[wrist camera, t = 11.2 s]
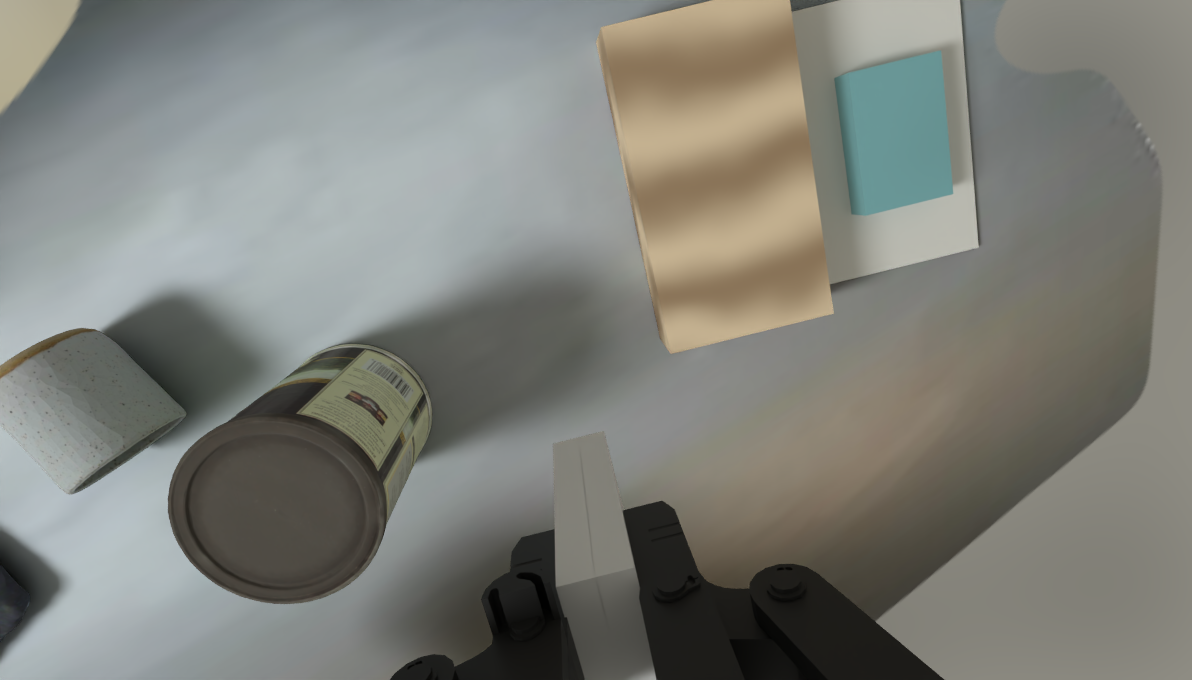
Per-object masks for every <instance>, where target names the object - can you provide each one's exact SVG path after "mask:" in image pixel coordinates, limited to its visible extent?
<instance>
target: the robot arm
mask: <svg viewBox="0 0 1192 680" xmlns="http://www.w3.org/2000/svg"><path fill="white" fill-rule="evenodd" d="M553 464H554V520H555V529H554V530H550V531H546V532H542V533H538V534H534V535H530V536H526V537H522V538H521V539H520V541H519V542H518V544H517V545H516V547H515V548H514V550H513V551H512V556H511V569H510V572H509V573H507V574H504V575H503V576H501V577H500V578H498V579H496V580H495V581H493V582H492V583H491V585H490V586H489V587H488V588H487V589H486V590H485V592H484V594H483V596H482V599H481V600H482V603H483V606H484V609H485V612H486V615H487V619H488V622H489V625H490V628H491V631H492V634H493V642H492V645H491V646H490V647H488V648H487V649H486V650H485V651H484V652H482V653H480V654H479V655H477V656H475V657H474V658H472V659H470V660H468V661H466V662H464V663H462V664H460V665H458V666H456V667H454V664H453V661H452V660H451V659H449V658H448V657H446V656H445V655H435V654H433V655H428V656H424V657H420V658H418V659H416V660H414V661H412V662H410V663H408V664H406V665H405V666H404V667H402V668H401V669H400V670H399V671H397V672H396V673H395V674H394V675H393V676H392V678H391V679H390V680H944V679H943V678H942V677H940V676H939V675H938V674H937V673H936V672H935V671H933V670H932V669H931V668H930V667H928V666H927V665H926V664H925V663H924V662H922V661H921V660H920V659H919V658H918V657H917V656H915V655H914V654H913V653H912V652H911V651H909V650H908V649H907V648H906V647H905V646H903V645H902V644H901V643H900V642H899V641H898V640H896V639H895V638H894V637H893V636H892V635H890V634H889V633H888V632H887V631H886V630H884V629H883V628H882V627H881V626H880V625H878V624H877V623H876V622H875V621H874V620H872V619H871V618H870V617H869V616H868V615H867V614H865V613H864V612H863V611H862V610H861V609H859V608H858V607H857V606H856V605H855V604H853V603H852V602H851V601H850V600H849V599H847V598H846V597H845V596H844V595H843V594H841V593H840V592H839V591H838V590H837V589H835V588H834V587H833V586H832V585H831V584H830V583H828V582H827V581H826V580H825V579H824V578H822V577H821V576H820V575H819V574H818V573H816V572H814V571H813V570H811V569H809V568H807V567H804V566H800V565H795V564H778V565H775V566H771V567H768V568H765V569H764V570H762V571H760V572H759V573H757V574H756V575H755V576H754V578H753V579H752V581H751V582H750V589H730V588H723V587H719V586H715V585H713V584H711V583H709V582H707V581H706V580H705V579H704V578H703V576H702V575H701V574H700V573H699V571H698V569H697V566H696V564H695V561H694V558H693V556H692V553H691V551H690V548H689V546H688V543H687V540H686V538H685V535H684V533H683V530H682V527H681V525H680V523H679V520H678V517H677V515H676V512H675V509H673V508H672V507H670V506H669V505H668V504H666V503H665V502H663V501H659V502H655V503H651V504H647V505H643V506H639V507H635V508H631V509H627V510H624V509H623V505H622V501H621V497H620V493H619V489H618V485H617V481H616V477H615V473H614V469H613V465H612V461H611V457H610V453H609V449H608V445H607V441H606V437H605V433H604V431H602V432H598V433H594V434H590V435H586V436H582V437H578V438H574V439H570V440H566V441H562V442H558V443H554V444H553Z"/></svg>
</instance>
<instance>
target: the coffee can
mask: <svg viewBox="0 0 1192 680" xmlns="http://www.w3.org/2000/svg"><path fill="white" fill-rule="evenodd" d="M431 425H432V407H431V401H430V398H429V394H428V392H427V390H426V387H425V385H424V383H423V382H422V380H421V379H420V376H418V374H417V373H416V372H415V371H414V370H413V369H412V368H411V367H410V366H409V365H408V364H407V363H405V362H404V361H403V360H402V359H400V358H399V357H397V356H396V355H394V354H392V353H390V352H388V351H386V350H383V349H380V348H377V347H374V346H371V345H362V344H344V345H338V346H334V347H331V348H327V349H325V350H323V351H320V352H318V353H316V354H314V355H313V356H311V357H310V358H309V359H307V360H306V361H305V362H304V363H303V364H302V365H301V366H300V367H299V368H298V369H297V370H295V371H294V372H292V373H291V374H290V375H289V376H287V377H286V378H285V379H283V380H282V381H281V382H280V383H278V384H277V385H276V386H274V387H273V388H272V389H271V390H269V391H268V392H267V393H265V394H264V395H263V396H261V397H260V398H258V399H257V400H256V401H254V402H253V403H252V404H250V405H249V406H248V407H246V408H245V409H244V410H242V411H241V412H239V413H238V414H237V415H236V416H235V417H233V418H232V419H231V420H229V421H228V422H226V423H224V424H222V425H220V426H218V427H216V428H215V429H213V430H212V431H210V432H209V433H207V434H206V435H204V436H203V437H201V438H200V439H199V440H198V441H197V442H196V443H194V444H193V445H192V446H191V447H190V448H189V449H188V451H187V452H186V453H185V454H184V455H183V457H182V458H181V460H180V462H179V463H178V465H177V467H176V469H175V471H174V474H173V477H172V480H171V483H170V488H169V495H168V513H169V519H170V523H171V527H172V530H173V534H174V536H175V538H176V540H177V542H178V544H179V546H180V547H181V549H182V551H183V552H184V554H185V555H186V557H187V558H188V559H189V561H190V562H191V563H192V564H193V565H194V566H195V567H196V568H197V569H198V570H199V571H200V572H201V573H202V574H204V575H205V576H206V577H207V578H208V579H210V580H211V581H212V582H214V583H215V584H217V585H218V586H220V587H222V588H224V589H226V590H227V591H230V592H232V593H234V594H236V595H239V596H241V597H245V598H249V599H252V600H255V601H260V602H266V603H274V604H294V603H303V602H309V601H313V600H317V599H320V598H323V597H326V596H328V595H330V594H333V593H335V592H337V591H339V590H341V589H343V588H344V587H346V586H347V585H349V584H350V583H351V582H352V581H354V580H355V579H356V578H357V577H358V576H359V575H360V574H361V573H362V572H363V571H364V570H365V569H366V568H367V567H368V565H369V564H370V563H371V561H372V559H373V558H374V556H375V554H376V552H377V550H378V548H379V546H380V544H381V541H382V538H383V535H384V532H385V528H386V524H387V522H388V520H389V518H390V516H391V513H392V511H393V509H394V507H395V505H396V502H397V500H398V498H399V496H400V494H401V492H402V489H403V487H404V485H405V483H406V481H407V479H408V477H409V474H410V472H411V470H412V468H413V466H414V464H415V462H416V459H417V457H418V455H419V453H420V451H421V450H422V448H423V447H424V445H425V443H426V441H427V438H428V436H429V432H430V429H431Z"/></svg>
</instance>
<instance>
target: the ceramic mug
mask: <svg viewBox="0 0 1192 680" xmlns="http://www.w3.org/2000/svg"><path fill="white" fill-rule="evenodd" d="M185 416H186V412H185V410H184V409H183V408H182V407H181V406H180V405H179V404H178V403H177V402H176V401H175V400H173V399H172V398H171V397H170V396H169V395H168V394H167V392H166V391H165V390H164V389H163V388H162V387H160V386H159V385H158V384H157V383H156V382H155V381H154V380H153V379H152V378H151V377H150V376H149V375H148V374H147V373H146V372H145V371H144V370H143V369H142V368H141V367H140V366H139V365H138V364H137V363H136V362H135V361H134V360H133V359H132V358H131V357H130V356H129V355H128V354H127V353H126V352H125V351H124V350H123V349H122V348H121V347H120V346H119V345H118V344H117V343H116V342H114V341H113V340H111V339H110V338H108V337H107V336H106V335H104V334H103V333H101V332H99V331H97V330H95V329H86V328H79V329H74V330H69V331H66V332H63V333H60V334H57V335H55V336H52V337H50V338H48V339H45V340H43V341H41V342H39V343H37V344H35V345H33V346H31V347H29V348H28V349H26V350H24V351H22V352H20V353H19V354H17V355H16V356H14V357H12V358H11V359H9V360H8V361H7V362H5V363H4V364H2V365H1V366H0V426H1V427H2V428H3V429H4V430H5V431H6V432H7V433H8V434H9V435H11V436H12V437H13V438H14V439H15V440H16V441H17V442H18V443H19V444H20V446H21V447H22V448H23V449H24V450H25V451H26V452H27V453H28V454H29V455H30V456H31V458H32V459H33V460H34V461H35V462H36V463H37V464H38V465H39V466H40V467H41V468H42V469H43V470H44V471H45V472H46V473H47V475H48V476H49V477H50V478H51V479H52V480H53V481H54V482H55V483H56V485H57V486H58V487H59V488H60V489H62V490H63V491H64V492H65V493H66V494H74V493H77V492H79V491H81V490H83V489H85V488H87V487H88V486H90V485H92V484H93V483H95V482H97V481H98V480H100V479H101V478H103V477H104V476H106V475H107V474H109V473H110V472H112V471H114V470H115V469H117V468H118V467H120V466H121V465H122V464H124V463H126V462H127V461H129V460H130V459H132V458H133V457H134V456H136V455H137V454H139V453H140V452H142V451H143V450H144V449H146V448H148V447H149V446H150V445H151V444H152V443H154V442H155V441H156V440H158V439H159V438H161V437H162V436H164V435H165V434H166V433H168V432H169V431H170V430H171V429H172V428H174V427H175V426H176V425H177V424H178V423H180V422H181V421H182V420H183V419H184V418H185Z"/></svg>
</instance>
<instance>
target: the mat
mask: <svg viewBox="0 0 1192 680" xmlns="http://www.w3.org/2000/svg"><path fill="white" fill-rule="evenodd" d="M792 19H793V26H794V33H795V40H796V48H797V55H798V62H799V69H800V76H801V83H802V91H803V98H804V105H805V112H806V119H807V126H808V133H809V141H810V148H811V155H812V162H813V169H814V176H815V184H816V191H817V198H818V205H819V212H820V219H821V226H822V234H823V241H824V248H825V255H826V262H827V269H828V277H829V284H833V283H837V282H841V281H845V280H849V279H853V278H857V277H861V276H866V275H870V274H874V273H878V272H882V271H886V270H890V269H894V268H898V267H902V266H906V265H910V264H914V263H918V262H922V261H926V260H930V259H934V258H938V257H942V256H946V255H950V254H954V253H958V252H962V251H966V250H970V249H974V248H979V246H978V233H977V220H976V207H975V194H974V180H973V167H972V154H971V141H970V128H969V114H968V101H967V88H966V75H965V61H964V48H963V35H962V22H961V9H960V0H839V1H834V2H830V3H826V4H822V5H818V6H814V7H810V8H805V9H801V10H797V11H793V12H792ZM940 50H941V55H942V67H943V79H944V90H945V102H946V114H947V126H948V137H949V149H950V161H951V172H952V184H953V194H952V195H948V196H944V197H940V198H936V199H932V200H928V201H923V202H919V203H915V204H911V205H907V206H903V207H899V208H895V209H891V210H887V211H883V212H879V213H875V214H871V215H867V216H863V215H853V214H851V206H850V198H849V190H848V182H847V174H846V167H845V159H844V151H843V143H842V135H841V128H840V120H839V112H838V104H837V96H836V88H835V81H834V78H836V77H838V76H841V75H844V74H847V73H850V72H854V71H858V70H862V69H866V68H870V67H874V66H878V65H883V64H887V63H891V62H895V61H899V60H903V59H907V58H911V57H915V56H919V55H923V54H928V53H932V52H936V51H940Z"/></svg>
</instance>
